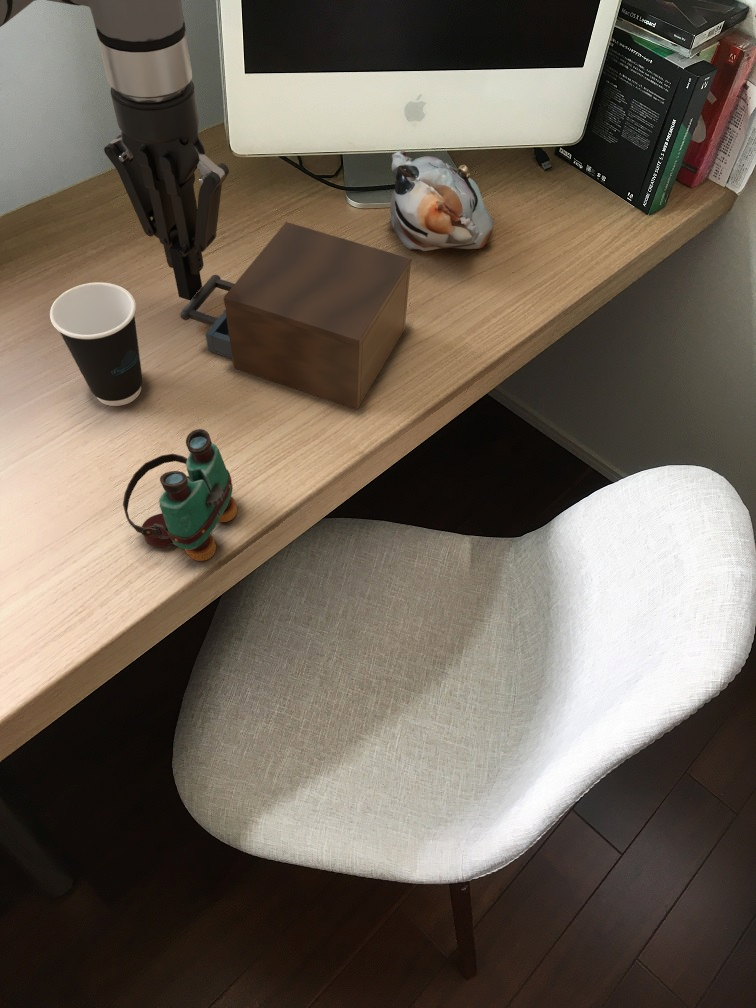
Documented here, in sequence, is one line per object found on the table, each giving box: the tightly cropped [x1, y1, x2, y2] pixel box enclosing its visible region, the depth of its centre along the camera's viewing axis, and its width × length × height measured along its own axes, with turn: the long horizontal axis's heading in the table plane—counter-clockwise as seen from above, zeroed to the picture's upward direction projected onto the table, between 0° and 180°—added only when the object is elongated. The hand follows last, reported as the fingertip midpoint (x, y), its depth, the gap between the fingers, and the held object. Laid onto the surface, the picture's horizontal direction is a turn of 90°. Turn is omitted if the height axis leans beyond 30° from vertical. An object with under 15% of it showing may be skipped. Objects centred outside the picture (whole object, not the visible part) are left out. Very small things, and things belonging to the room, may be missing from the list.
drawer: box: [179, 274, 235, 359], centre depth 89 cm, size 18×12×2 cm, turn 68°
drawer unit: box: [223, 221, 412, 411], centre depth 85 cm, size 15×14×10 cm
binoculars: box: [122, 428, 238, 562], centre depth 70 cm, size 9×11×10 cm
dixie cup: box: [49, 281, 143, 407], centre depth 79 cm, size 8×8×11 cm
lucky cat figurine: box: [389, 150, 495, 252], centre depth 96 cm, size 15×12×14 cm
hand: (190, 291), depth 90 cm, fingers closed
